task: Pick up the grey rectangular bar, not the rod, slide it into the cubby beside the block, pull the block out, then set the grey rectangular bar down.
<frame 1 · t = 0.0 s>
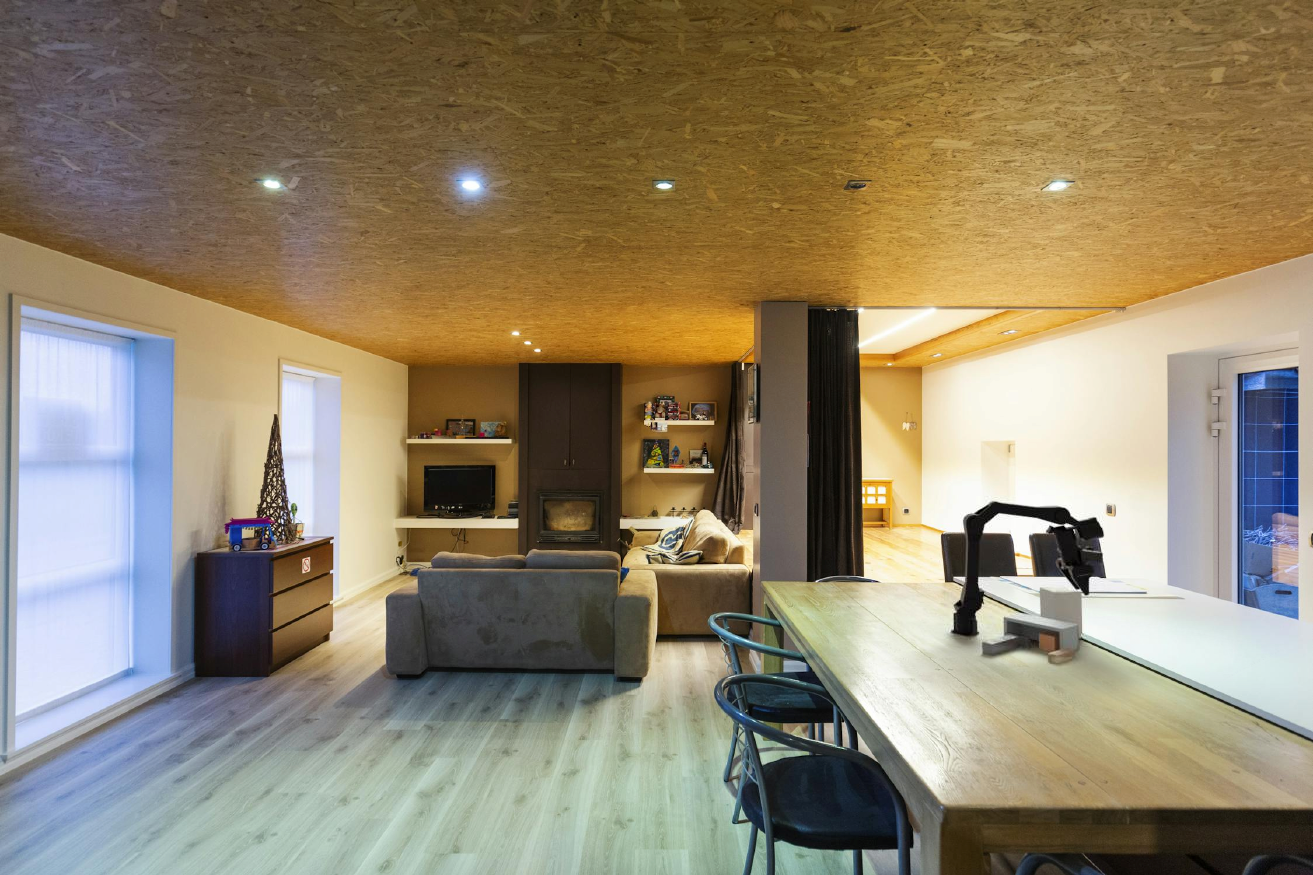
hand: (1082, 592, 210), 15 cm above the table, tool pointing down, fingers open, 9 cm apart
rod: (1061, 660, 191), on the table
grey rectangular bar: (992, 653, 198), on the table
block: (1050, 649, 202), on the table
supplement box: (1061, 635, 217), on the table
cubby: (1040, 644, 206), on the table
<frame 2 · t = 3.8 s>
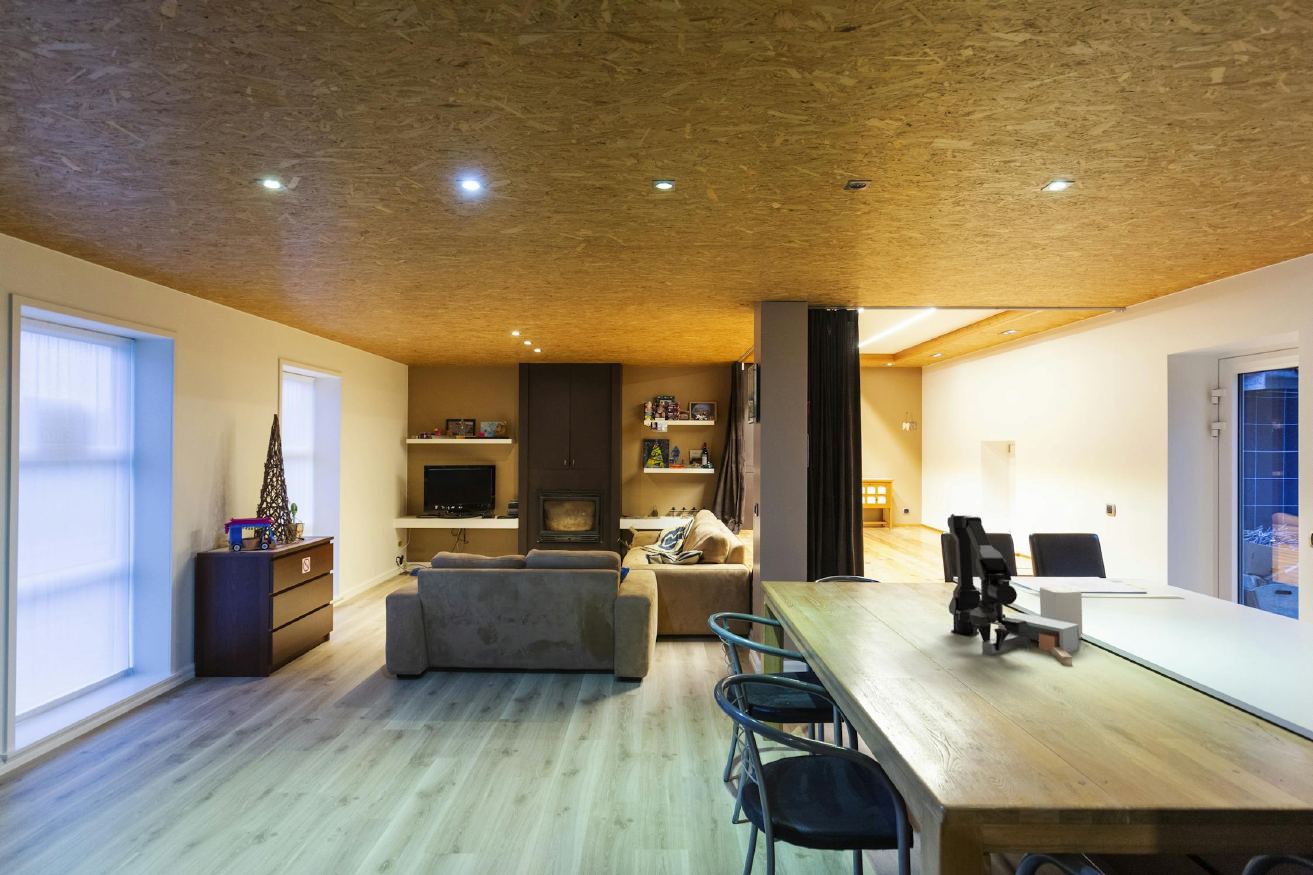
hand: (992, 649, 198), 1 cm above the table, tool pointing down, fingers closed on grey rectangular bar, 3 cm apart
grey rectangular bar: (992, 652, 198), on the table, touching gripper
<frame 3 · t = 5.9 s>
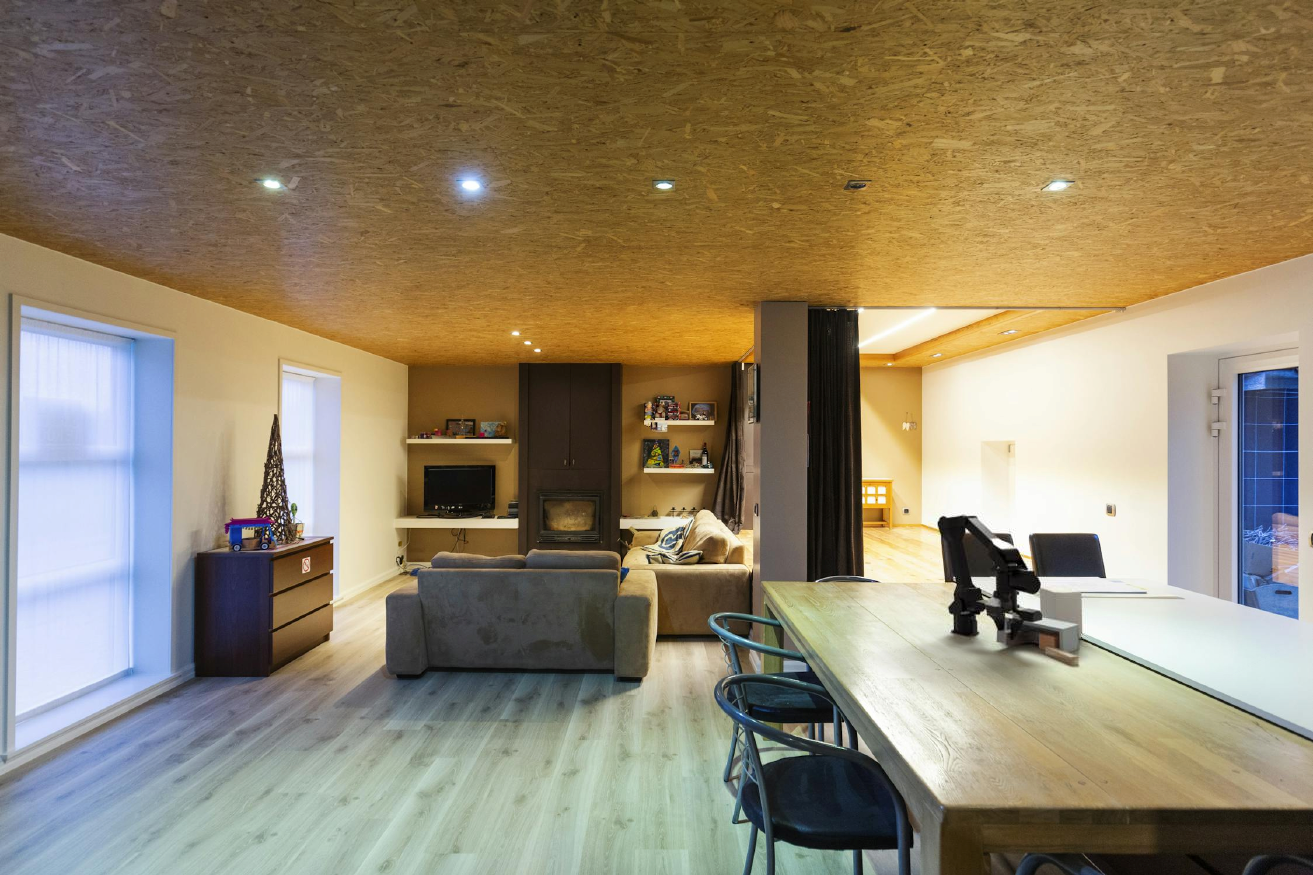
hand: (1007, 638, 202), 3 cm above the table, tool pointing down, fingers closed on grey rectangular bar, 3 cm apart
grey rectangular bar: (1006, 642, 202), point 2 cm above the table, tilted 7°, touching gripper
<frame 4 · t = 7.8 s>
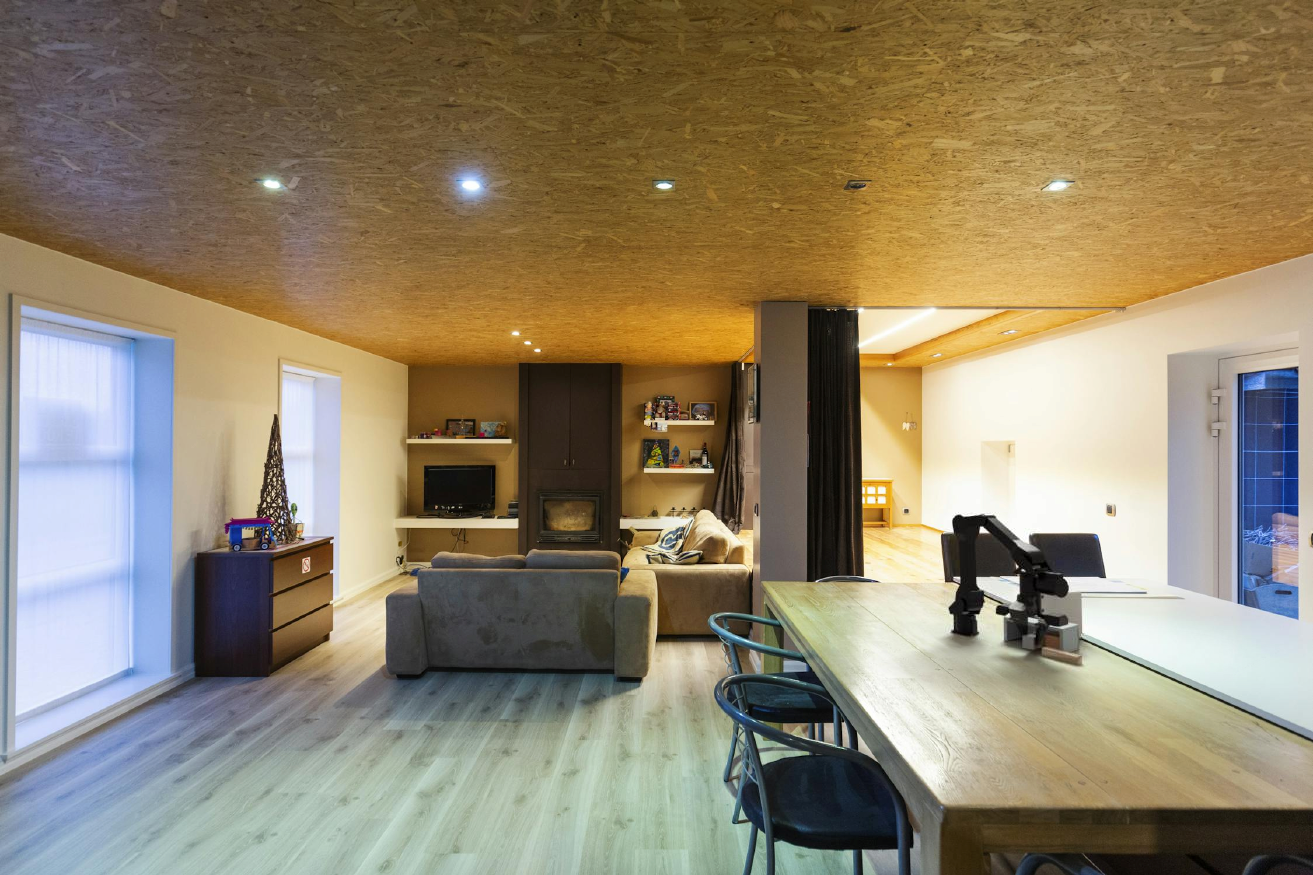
hand: (1031, 643, 197), 3 cm above the table, tool pointing down, fingers closed on grey rectangular bar, 3 cm apart
grey rectangular bar: (1031, 647, 196), point 2 cm above the table, tilted 7°, touching block, gripper
block: (1056, 649, 201), on the table, touching cubby, grey rectangular bar
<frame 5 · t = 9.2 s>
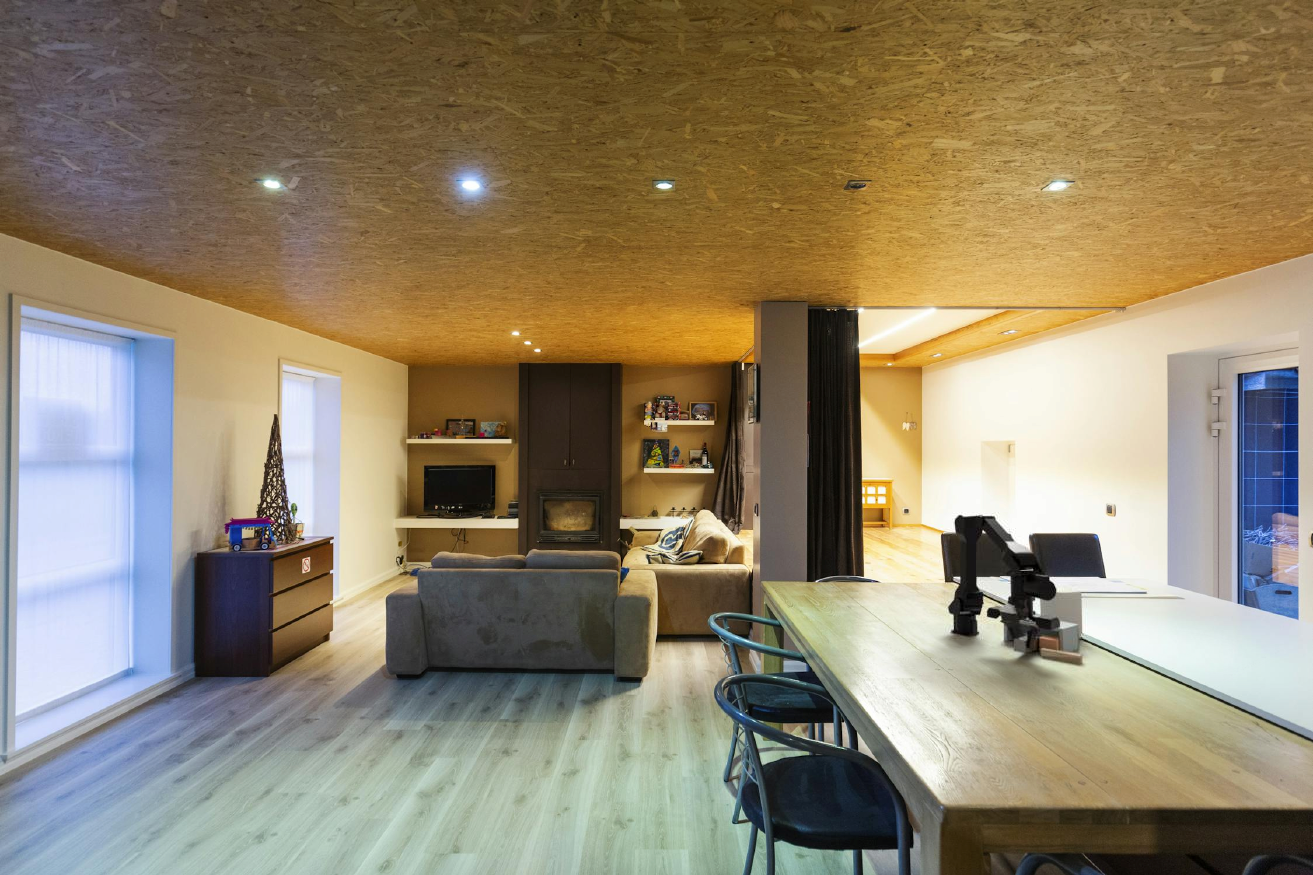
hand: (1022, 646, 193), 3 cm above the table, tool pointing down, fingers closed on grey rectangular bar, 3 cm apart
grey rectangular bar: (1023, 650, 193), point 2 cm above the table, tilted 7°, touching gripper
block: (1050, 652, 198), on the table
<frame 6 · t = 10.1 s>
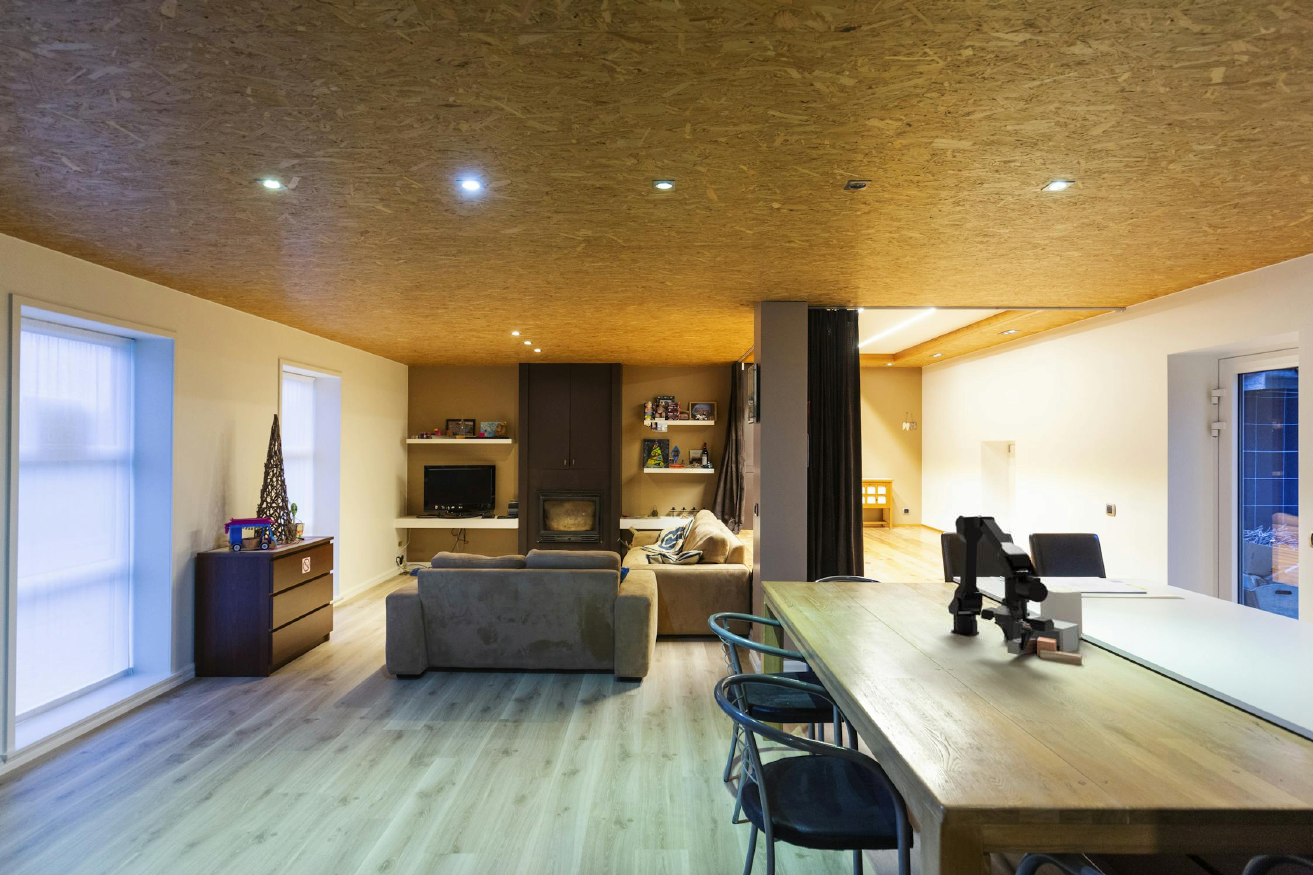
hand: (1016, 648, 192), 3 cm above the table, tool pointing down, fingers closed on grey rectangular bar, 3 cm apart
rod: (1061, 661, 190), on the table
grey rectangular bar: (1016, 652, 192), point 2 cm above the table, tilted 7°, touching gripper
block: (1046, 654, 196), on the table
everything else where it was.
when the fingers open (2 cm above the table, at t = 11.1 s): grey rectangular bar stays where it is, on the table.
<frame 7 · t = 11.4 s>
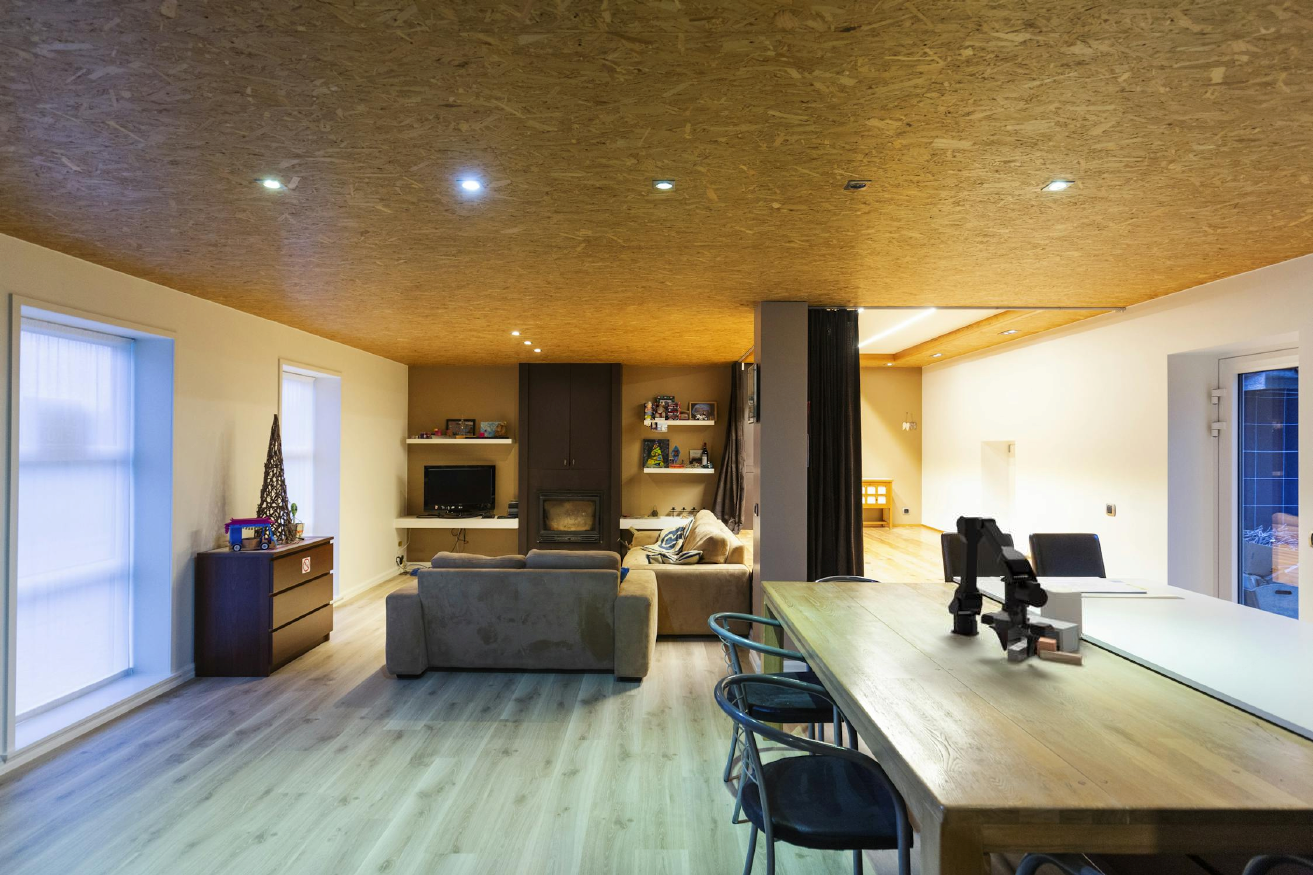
hand: (1016, 653, 192), 2 cm above the table, tool pointing down, fingers open, 7 cm apart
grey rectangular bar: (1017, 659, 192), on the table
everything else where it was.
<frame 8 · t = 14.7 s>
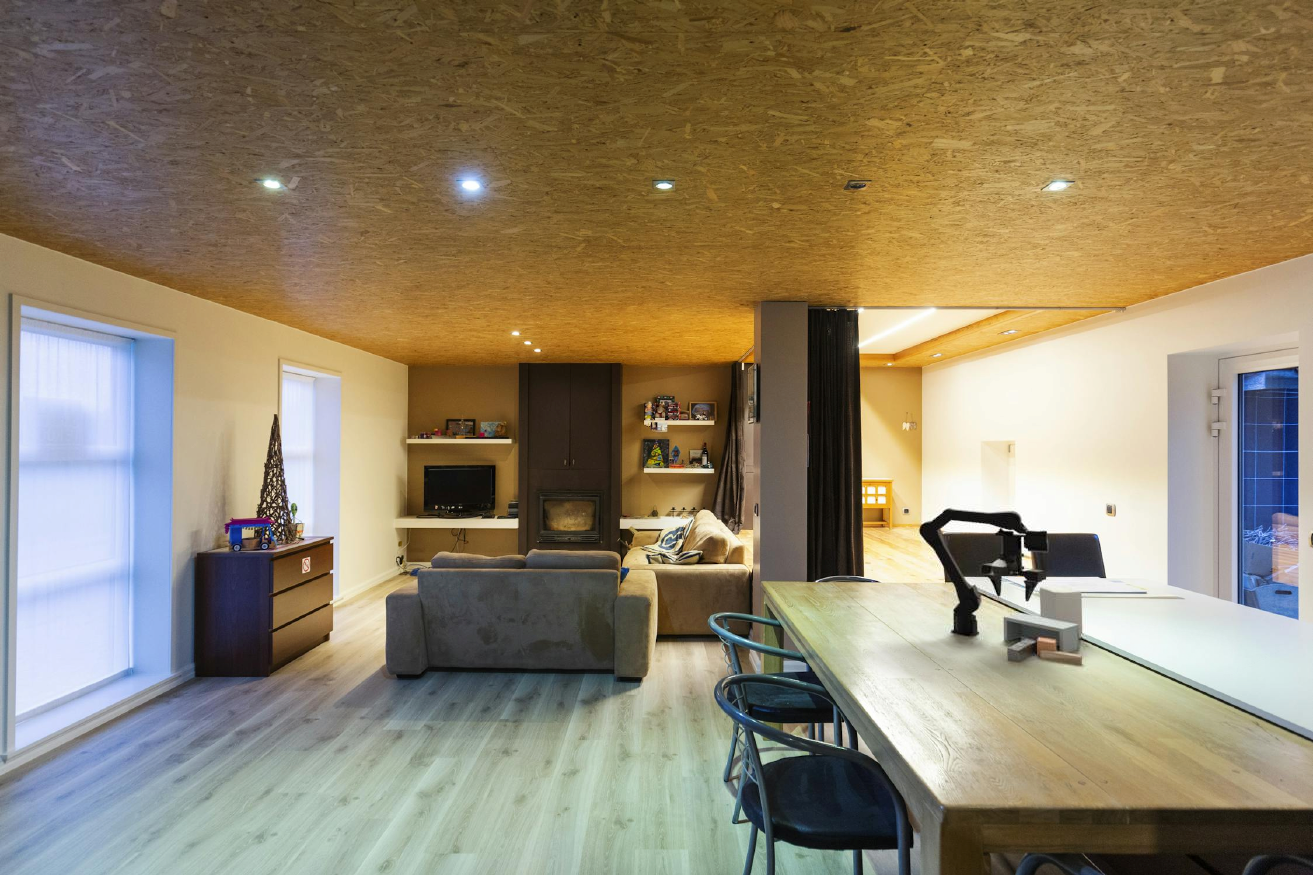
hand: (1012, 598, 213), 13 cm above the table, tool pointing down, fingers open, 9 cm apart
nothing on the table moved.
at the end: block inside the target area (4.4 cm from its centre), on the table; block moved 7.6 cm from its start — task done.
